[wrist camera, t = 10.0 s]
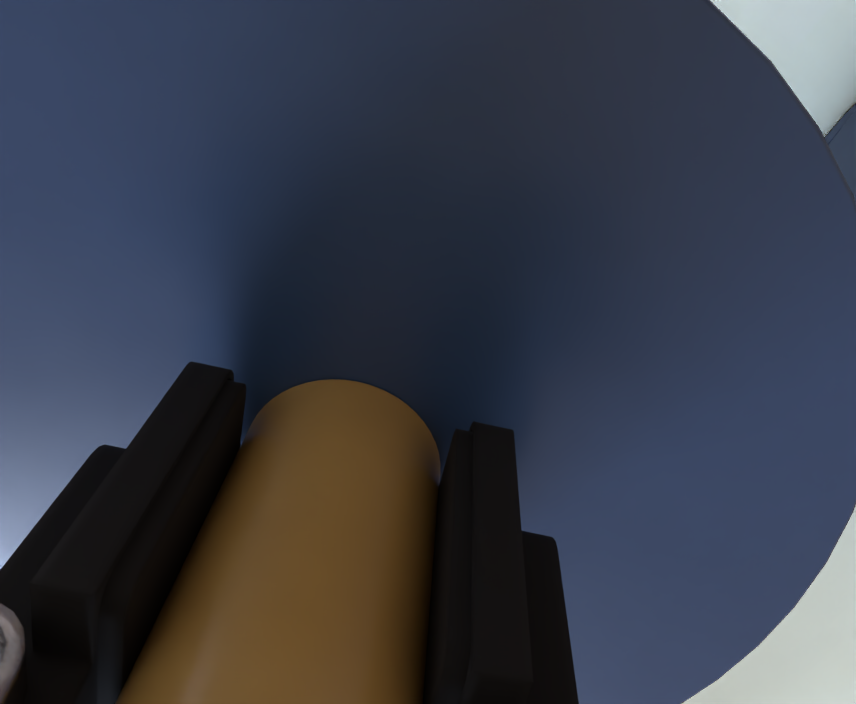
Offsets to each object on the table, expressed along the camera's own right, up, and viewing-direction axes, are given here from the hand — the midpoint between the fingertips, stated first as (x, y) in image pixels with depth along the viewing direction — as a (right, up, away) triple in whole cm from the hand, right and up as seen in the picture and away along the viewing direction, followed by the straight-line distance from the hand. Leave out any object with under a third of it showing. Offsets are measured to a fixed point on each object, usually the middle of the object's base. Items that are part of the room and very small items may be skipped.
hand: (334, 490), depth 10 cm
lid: (0, +1, +1) cm, 1 cm away
